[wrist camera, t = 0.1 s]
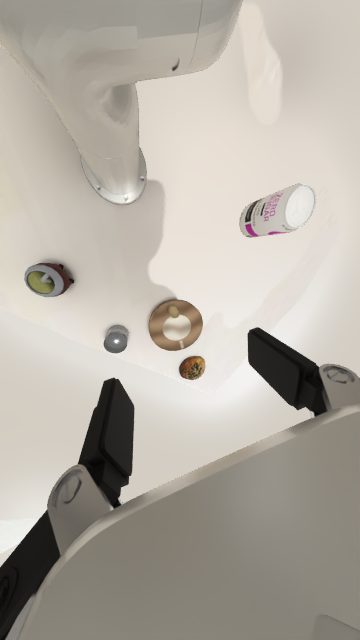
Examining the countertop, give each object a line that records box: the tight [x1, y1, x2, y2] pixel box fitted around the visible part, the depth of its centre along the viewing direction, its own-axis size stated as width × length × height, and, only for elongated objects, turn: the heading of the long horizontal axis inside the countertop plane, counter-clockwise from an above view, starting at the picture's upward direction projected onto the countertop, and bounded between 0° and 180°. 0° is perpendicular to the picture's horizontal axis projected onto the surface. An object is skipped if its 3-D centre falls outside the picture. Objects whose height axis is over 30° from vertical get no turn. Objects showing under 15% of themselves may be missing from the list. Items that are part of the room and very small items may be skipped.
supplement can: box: [240, 184, 316, 237], centre depth 36 cm, size 8×8×15 cm
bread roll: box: [179, 356, 205, 380], centre depth 59 cm, size 11×11×5 cm
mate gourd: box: [24, 263, 74, 297], centre depth 31 cm, size 8×8×15 cm
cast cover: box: [104, 325, 128, 353], centre depth 44 cm, size 6×6×6 cm
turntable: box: [149, 300, 203, 351], centre depth 45 cm, size 17×17×7 cm
